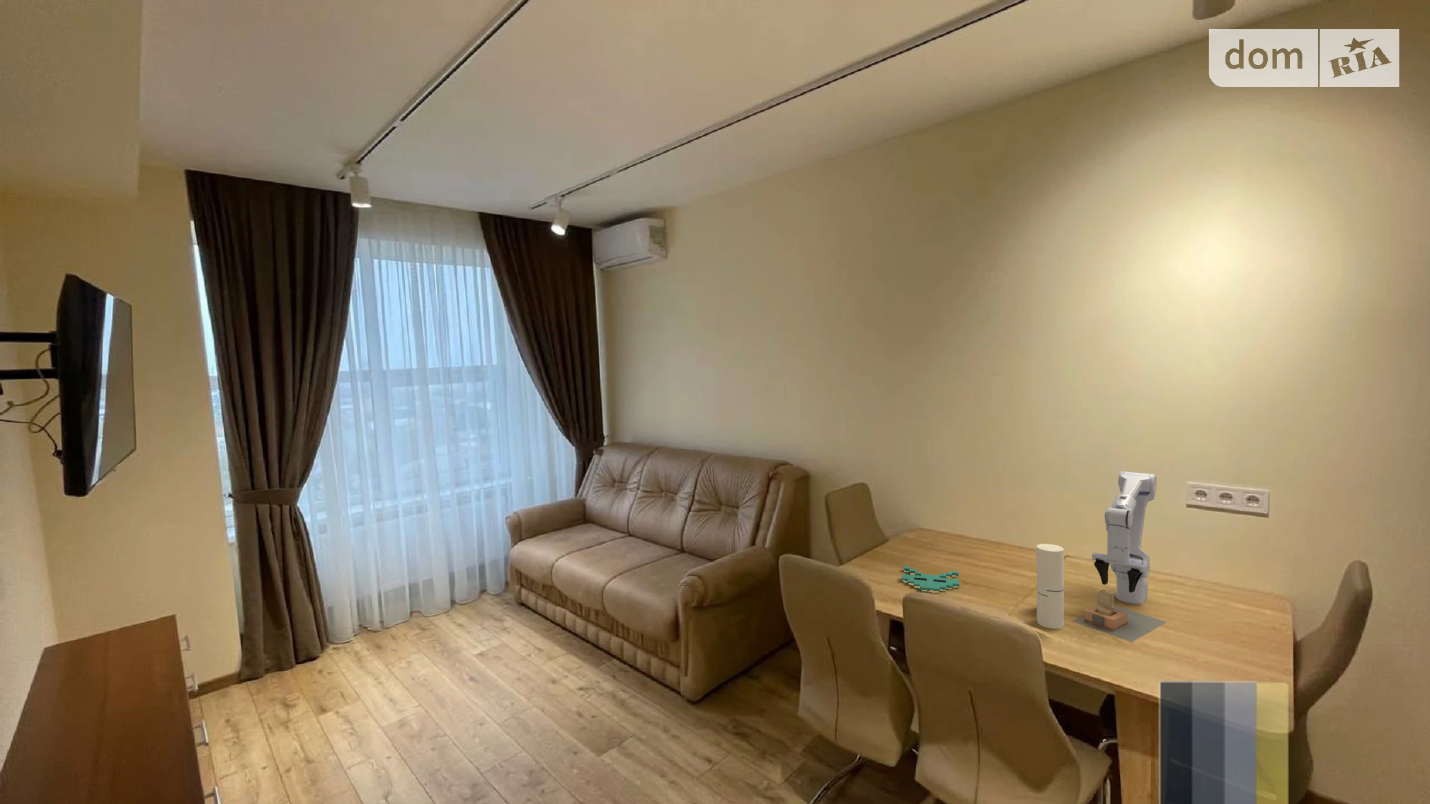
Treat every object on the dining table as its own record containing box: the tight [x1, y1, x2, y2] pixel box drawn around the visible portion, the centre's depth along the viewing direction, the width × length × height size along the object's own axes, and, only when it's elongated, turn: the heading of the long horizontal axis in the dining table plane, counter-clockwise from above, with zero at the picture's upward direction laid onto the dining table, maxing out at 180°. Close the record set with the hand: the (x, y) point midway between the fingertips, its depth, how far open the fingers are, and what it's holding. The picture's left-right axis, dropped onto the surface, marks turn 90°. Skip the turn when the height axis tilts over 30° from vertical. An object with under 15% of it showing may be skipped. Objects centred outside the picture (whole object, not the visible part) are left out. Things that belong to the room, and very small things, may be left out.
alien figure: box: [901, 565, 960, 592], centre depth 211 cm, size 20×2×20 cm
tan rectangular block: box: [1097, 589, 1115, 616], centre depth 172 cm, size 3×3×9 cm
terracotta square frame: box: [1083, 603, 1128, 631], centre depth 172 cm, size 9×8×3 cm
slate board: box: [1073, 604, 1167, 643], centre depth 172 cm, size 22×16×1 cm
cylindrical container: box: [1036, 543, 1065, 630], centre depth 172 cm, size 7×7×25 cm
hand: (1118, 587), depth 177 cm, fingers open, 7 cm apart
